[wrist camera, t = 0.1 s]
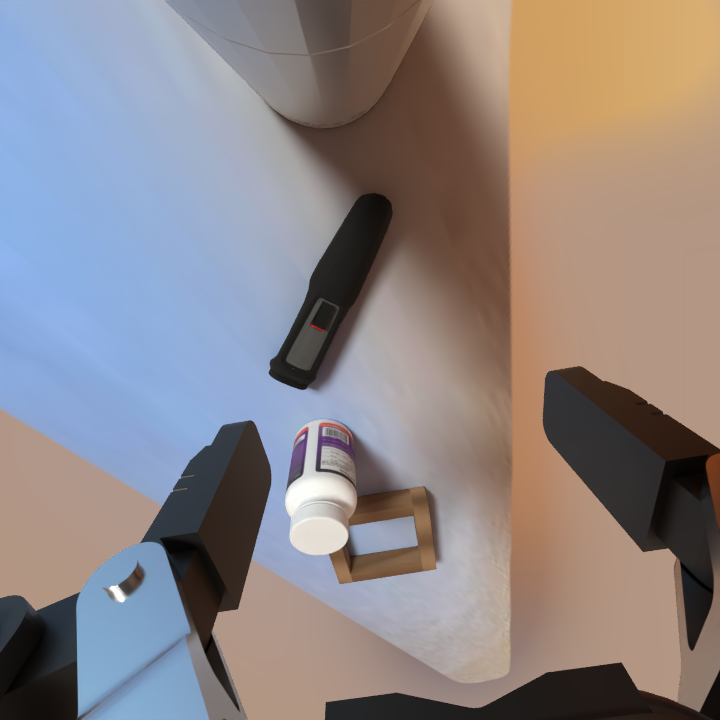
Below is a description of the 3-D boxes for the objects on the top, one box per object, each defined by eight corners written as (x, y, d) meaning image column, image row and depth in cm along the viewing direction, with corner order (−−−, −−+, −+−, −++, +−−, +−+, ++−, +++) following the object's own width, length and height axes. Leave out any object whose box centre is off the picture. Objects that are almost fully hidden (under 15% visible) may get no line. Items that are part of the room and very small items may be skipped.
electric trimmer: (404, 210, 24) (413, 213, 21) (308, 385, 29) (305, 407, 27) (355, 180, 23) (357, 180, 20) (266, 367, 28) (258, 388, 26)
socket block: (318, 503, 36) (317, 520, 34) (424, 486, 35) (428, 502, 34) (339, 566, 41) (339, 584, 39) (432, 552, 40) (436, 569, 39)
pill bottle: (309, 468, 34) (298, 569, 25) (285, 427, 31) (264, 523, 22) (362, 452, 33) (369, 550, 24) (341, 409, 30) (342, 501, 22)
